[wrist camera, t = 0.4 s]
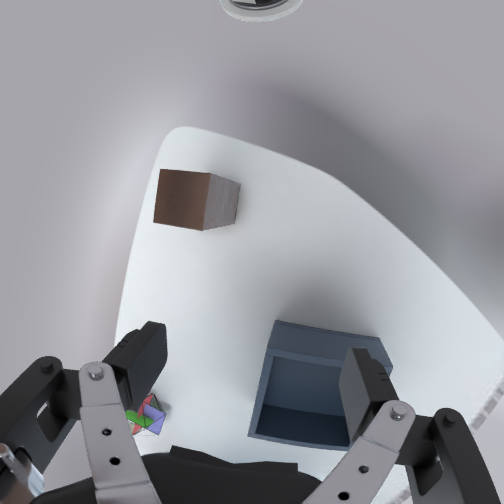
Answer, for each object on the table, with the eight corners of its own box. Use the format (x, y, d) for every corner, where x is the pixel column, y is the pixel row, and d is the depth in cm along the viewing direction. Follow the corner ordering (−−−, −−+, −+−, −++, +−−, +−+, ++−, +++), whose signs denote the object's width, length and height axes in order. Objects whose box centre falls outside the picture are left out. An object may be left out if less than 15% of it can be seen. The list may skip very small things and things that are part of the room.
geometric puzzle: (128, 376, 35) (104, 421, 30) (170, 398, 34) (146, 445, 29) (139, 388, 41) (119, 427, 35) (176, 406, 40) (156, 447, 35)
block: (240, 183, 31) (210, 173, 21) (234, 223, 31) (202, 231, 22) (202, 179, 31) (159, 168, 22) (197, 217, 32) (152, 222, 22)
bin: (275, 320, 32) (266, 346, 26) (379, 337, 30) (393, 366, 24) (257, 402, 34) (247, 436, 28) (348, 417, 32) (352, 451, 26)
